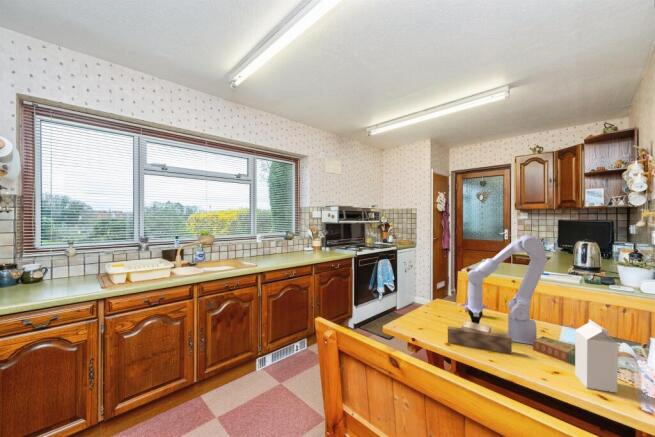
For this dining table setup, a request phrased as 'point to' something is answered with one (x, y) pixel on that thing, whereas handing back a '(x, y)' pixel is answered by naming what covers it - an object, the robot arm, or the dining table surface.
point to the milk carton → (596, 357)
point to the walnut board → (480, 339)
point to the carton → (555, 349)
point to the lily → (467, 304)
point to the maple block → (476, 326)
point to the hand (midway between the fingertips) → (475, 327)
